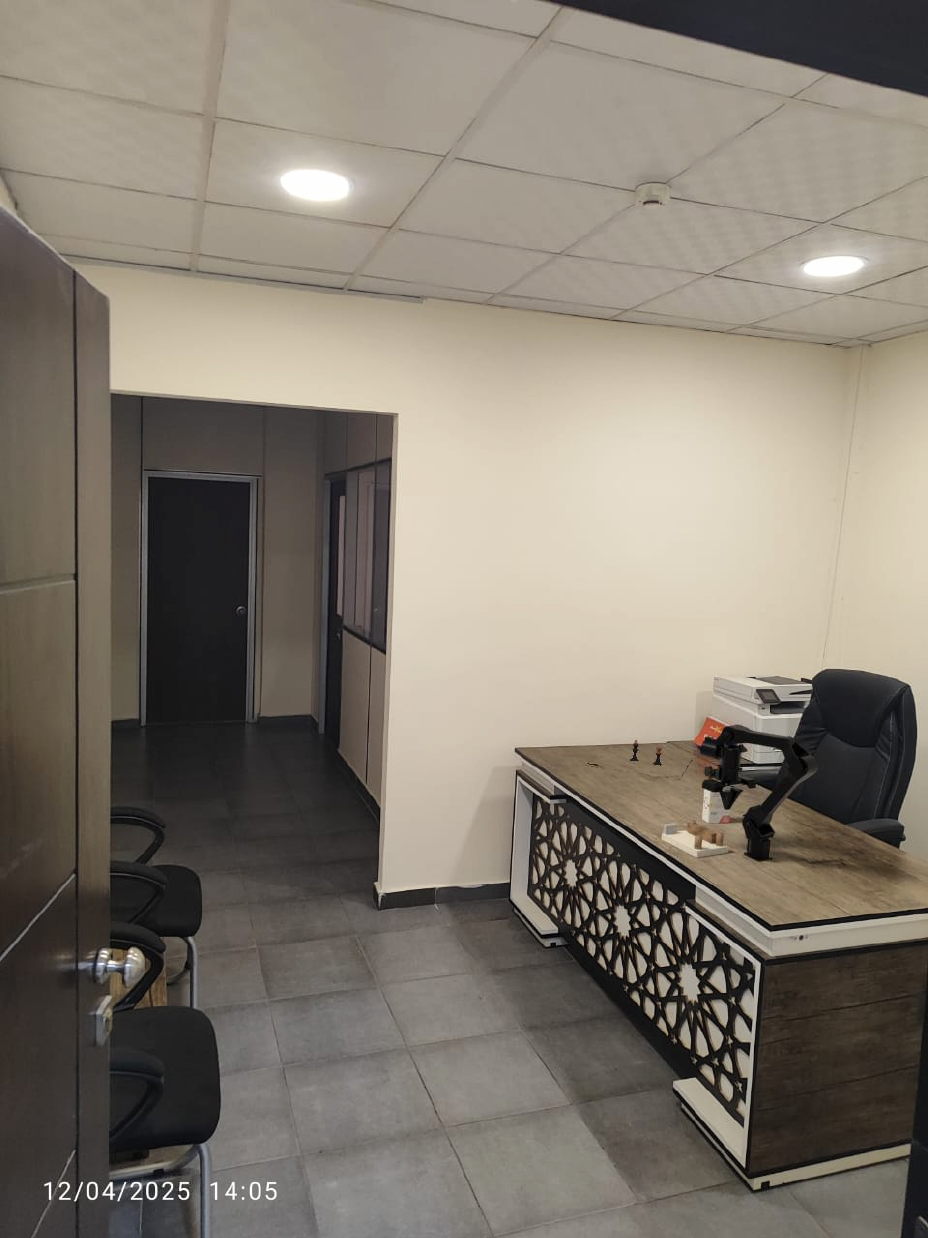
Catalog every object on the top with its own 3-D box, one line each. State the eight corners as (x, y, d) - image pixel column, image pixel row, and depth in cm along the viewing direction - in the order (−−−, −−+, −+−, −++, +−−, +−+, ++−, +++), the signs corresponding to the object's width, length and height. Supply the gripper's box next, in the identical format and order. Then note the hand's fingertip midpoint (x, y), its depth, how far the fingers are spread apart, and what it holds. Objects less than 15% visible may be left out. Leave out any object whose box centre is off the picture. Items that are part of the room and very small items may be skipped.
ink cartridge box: (723, 818, 310) (726, 779, 309) (729, 823, 305) (733, 783, 304) (701, 819, 308) (704, 779, 307) (707, 823, 304) (711, 783, 302)
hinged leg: (687, 831, 287) (688, 820, 287) (692, 830, 288) (693, 819, 288) (711, 843, 277) (712, 831, 276) (717, 842, 278) (718, 830, 277)
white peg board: (727, 852, 275) (729, 834, 275) (696, 857, 269) (698, 839, 269) (691, 835, 290) (693, 818, 290) (661, 839, 284) (662, 821, 284)
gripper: (734, 755, 291) (730, 799, 293) (692, 758, 283) (688, 804, 284) (759, 763, 281) (754, 809, 283) (715, 767, 273) (711, 815, 274)
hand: (726, 809), depth 281 cm, fingers closed
